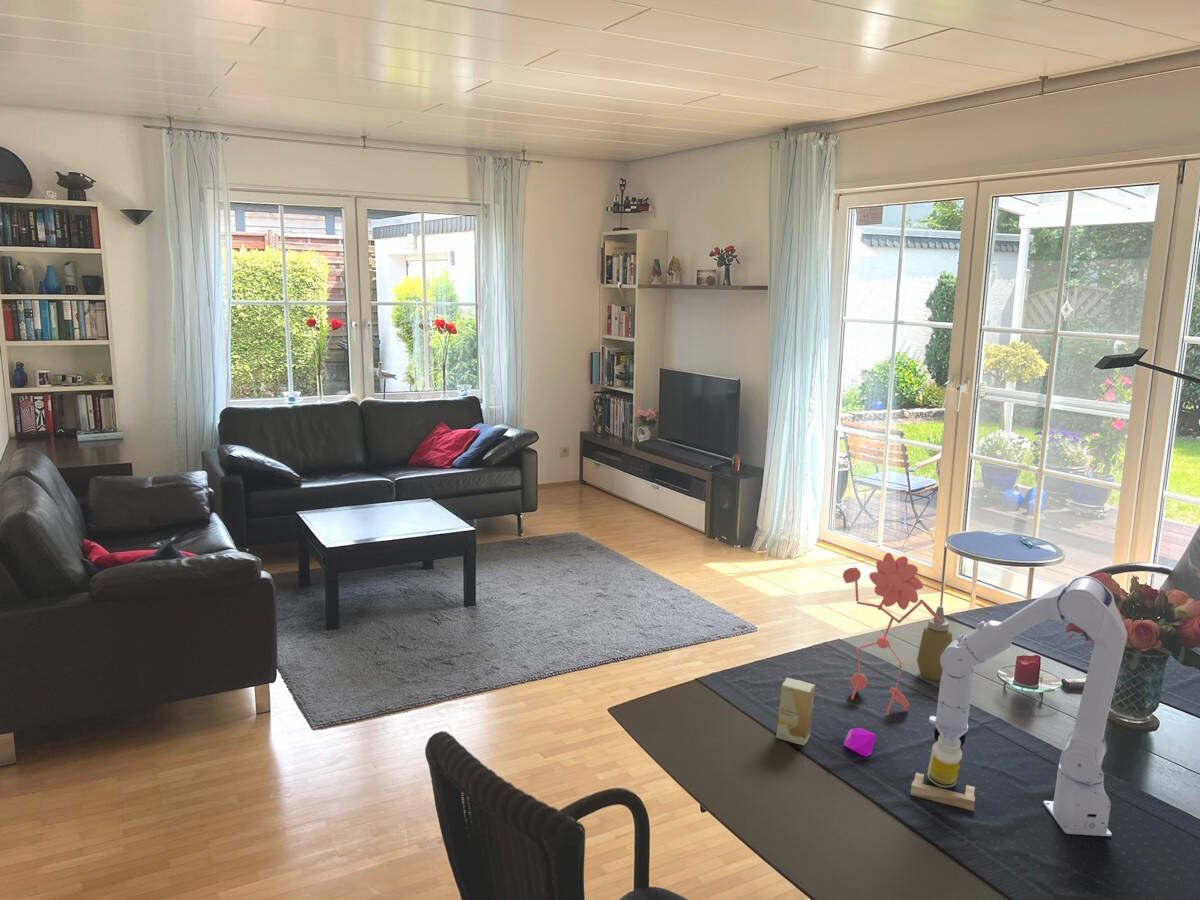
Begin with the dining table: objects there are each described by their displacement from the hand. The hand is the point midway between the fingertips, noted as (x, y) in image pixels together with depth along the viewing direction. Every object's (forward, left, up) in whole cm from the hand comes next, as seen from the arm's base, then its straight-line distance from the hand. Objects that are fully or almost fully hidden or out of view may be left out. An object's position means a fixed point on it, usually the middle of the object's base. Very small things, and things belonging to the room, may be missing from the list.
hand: (946, 765), depth 172 cm
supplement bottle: (-3, +1, -1) cm, 3 cm away
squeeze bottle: (+45, -11, -2) cm, 46 cm away
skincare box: (+11, +28, -2) cm, 30 cm away
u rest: (-8, +3, -2) cm, 8 cm away
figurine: (+31, +4, -2) cm, 31 cm away
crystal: (+7, +15, -2) cm, 17 cm away
